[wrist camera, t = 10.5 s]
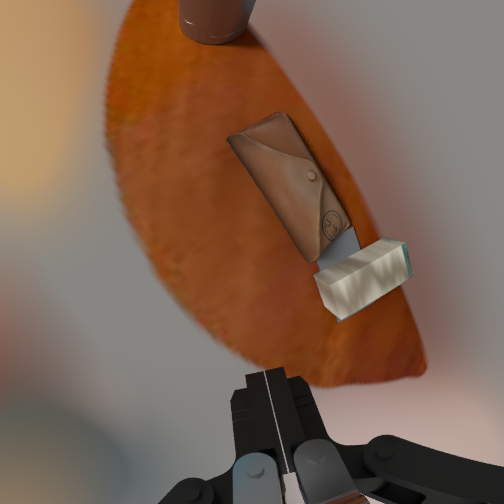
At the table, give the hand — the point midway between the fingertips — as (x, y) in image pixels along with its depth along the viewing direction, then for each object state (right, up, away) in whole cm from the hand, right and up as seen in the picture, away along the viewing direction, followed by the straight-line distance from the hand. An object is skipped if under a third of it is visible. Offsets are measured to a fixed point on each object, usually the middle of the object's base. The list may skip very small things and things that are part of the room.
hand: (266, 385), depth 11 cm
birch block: (+9, 0, +25) cm, 27 cm away
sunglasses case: (+4, +14, +25) cm, 29 cm away
